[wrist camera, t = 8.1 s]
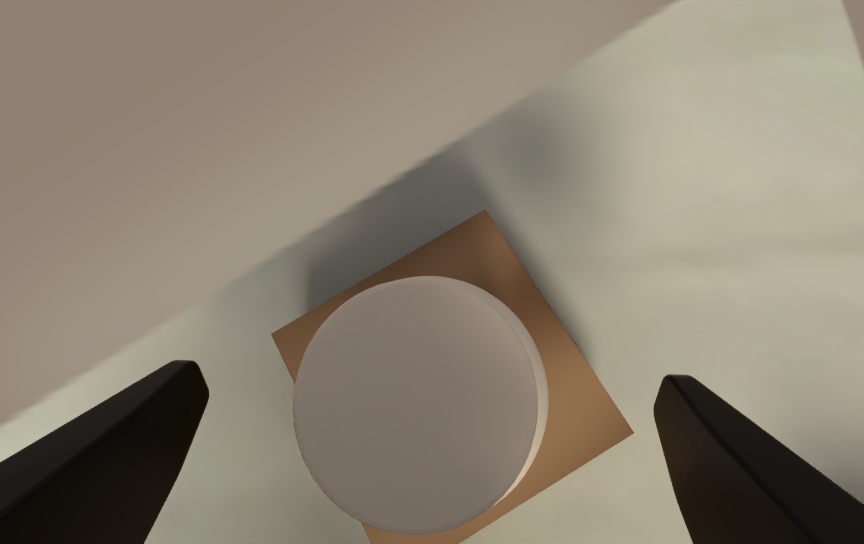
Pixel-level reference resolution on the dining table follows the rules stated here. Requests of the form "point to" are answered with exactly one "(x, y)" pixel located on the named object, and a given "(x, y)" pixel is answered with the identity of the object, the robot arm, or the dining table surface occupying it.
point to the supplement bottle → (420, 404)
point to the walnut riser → (563, 362)
